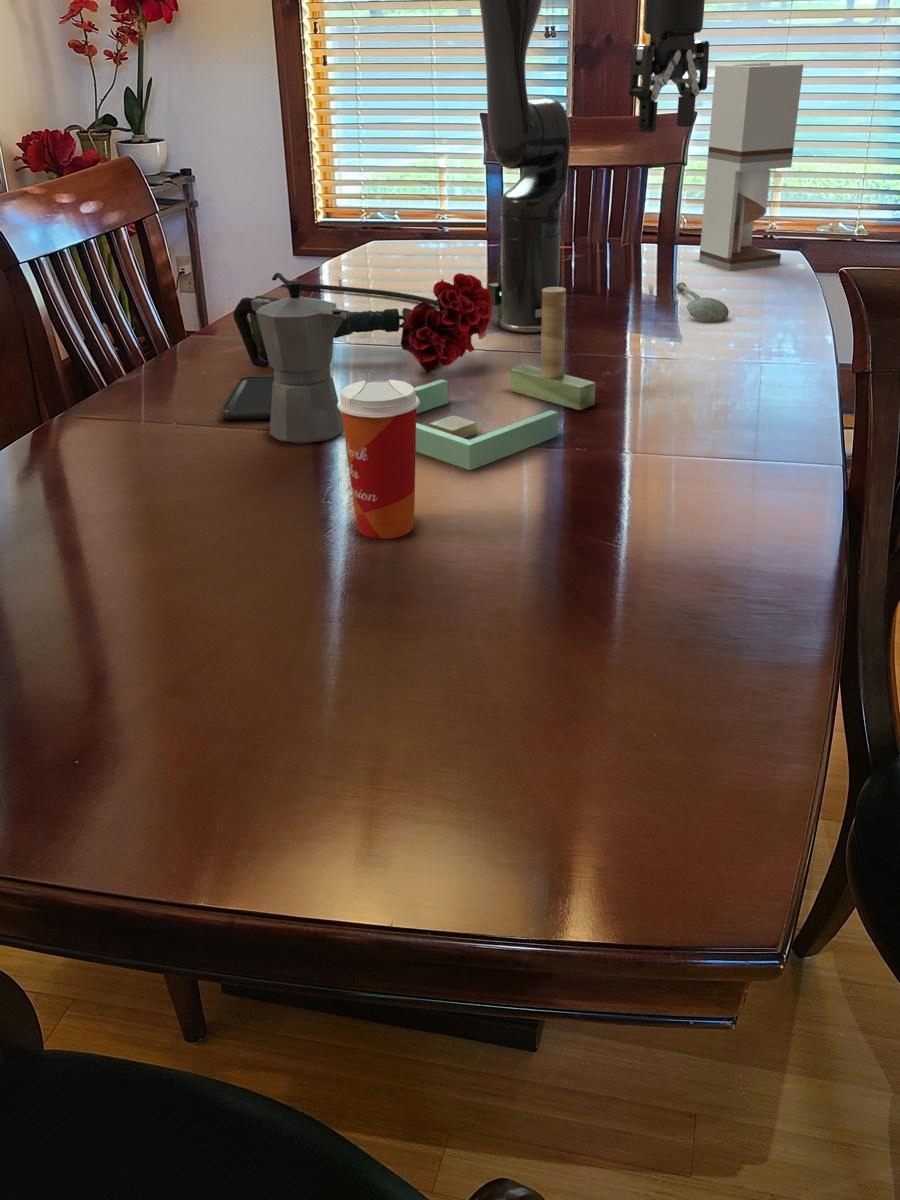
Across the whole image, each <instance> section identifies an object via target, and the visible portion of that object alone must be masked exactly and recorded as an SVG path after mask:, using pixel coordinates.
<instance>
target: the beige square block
mask: <svg viewBox="0 0 900 1200" xmlns="http://www.w3.org/2000/svg"><path fill="white" fill-rule="evenodd" d="M429 427H430V428H434V429H437V430H440V431H443V432H446V433H449V434H452V435H455V436H458V437H461V438H464V439H468V438H470V437H472V436H475V435H477V422H476V421H473V420H469V419H467V418H463V417H461V416H458V415H454V414H453V415H450V416H447V417H444V418H441V419H438V420H435V421H432V422H430V423H429Z"/></svg>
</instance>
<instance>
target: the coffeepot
mask: <svg viewBox="0 0 900 1200" xmlns="http://www.w3.org/2000/svg"><path fill="white" fill-rule="evenodd" d="M290 281H291V282H288V283H287V285H286V287H287V290H288V294H289V297H286V298H282V299H280V300H277V301H274V302H271V301H270V300H267V299H254V298H255V297H248V296H247V297H243V298H241V299H240V301H239V302H238V303H237V305H236V307H235V308H234V310H233V314H232V315H233V320H234V322H235V324H236V326H237V329H238V332H239V334H240V336H241V339H242V342H243V344H244V347H245V349H246V351H247V354H248V356H249V359H250V361H251V364H252V365H253V366H255V367H258V368H264V369H265V368H268V367H271V368H272V369H273V376H274V378H275V379H274V382H273V386H272V402H271V419H269V420H270V421H269V435H270V436H272V437H273V438H274V439H275V440H277V441H280V442H283V443H288V444H289V443H290V444H313V443H320V442H325V441H329V440H331V439H333V438H336V437H337V436H339V435H341V434H342V432H343V429H344V427H343V420H342V412H341V411H340V410H339V409H338V407H337V404H338V402H339V397H338V393H337V390H336V386H335V382H334V378H333V376H331V363H332V361H333V354H334V339H335V338H334V336H335V334H336V332H337V330H338V328H339V326H340V324H341V323H342V321H343V320H345V319H347V315H346V313H345V312H342V310H343V309H339V308H337V306H336V305H337V304H336V303H335V302H332V301H327V300H323V299H320V298H314V297H308V296H307V297H306V296H300V295H301V288H302V287H301V283H302V282H300V281H297V280H290ZM250 314H253V315H256V316H257V318H258V322H259V326H260V330H261V334H262V338H263V342H264V346H265V350H266V353H267V357H266V358H267V359H265V358H261V357H260V356H259V354H258V347H257V343H256V341H255V339H254V337H253V330H252V327H251V324H250V322H251V321H250V320H249V317H248V315H250Z"/></svg>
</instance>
